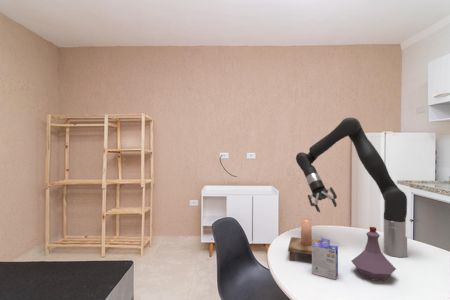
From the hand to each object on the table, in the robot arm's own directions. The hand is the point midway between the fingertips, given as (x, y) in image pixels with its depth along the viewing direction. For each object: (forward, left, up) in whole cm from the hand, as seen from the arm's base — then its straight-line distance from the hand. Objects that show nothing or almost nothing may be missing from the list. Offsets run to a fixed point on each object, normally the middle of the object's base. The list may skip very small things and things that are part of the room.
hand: (327, 209), depth 133 cm
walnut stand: (+10, +13, -21) cm, 27 cm away
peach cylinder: (+10, +13, -15) cm, 22 cm away
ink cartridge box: (+2, +29, -21) cm, 36 cm away
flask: (-17, +23, -21) cm, 35 cm away
